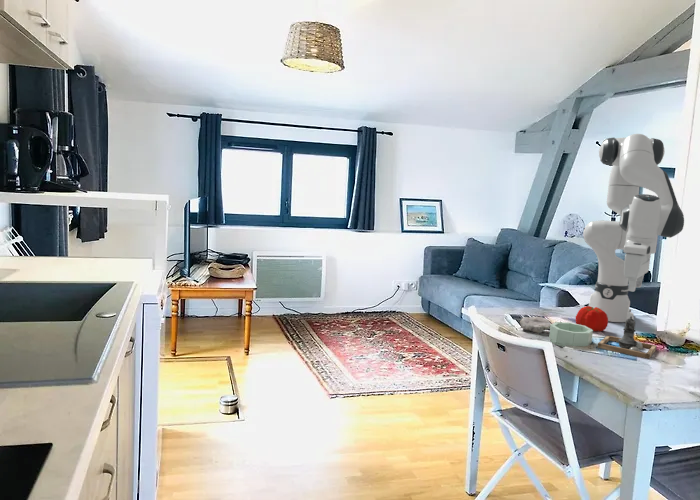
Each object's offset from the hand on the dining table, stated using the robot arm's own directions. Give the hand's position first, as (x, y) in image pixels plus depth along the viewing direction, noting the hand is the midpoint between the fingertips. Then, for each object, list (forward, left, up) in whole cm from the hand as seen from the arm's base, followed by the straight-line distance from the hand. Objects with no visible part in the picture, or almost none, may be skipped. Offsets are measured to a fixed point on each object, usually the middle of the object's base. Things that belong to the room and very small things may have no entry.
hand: (634, 289), depth 179 cm
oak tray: (0, 0, -21) cm, 21 cm away
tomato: (-17, -16, -21) cm, 31 cm away
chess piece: (0, 0, -21) cm, 21 cm away
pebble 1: (+4, +4, -20) cm, 20 cm away
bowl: (+5, -17, -21) cm, 27 cm away
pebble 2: (-4, +4, -19) cm, 20 cm away
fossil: (-2, -31, -21) cm, 37 cm away
